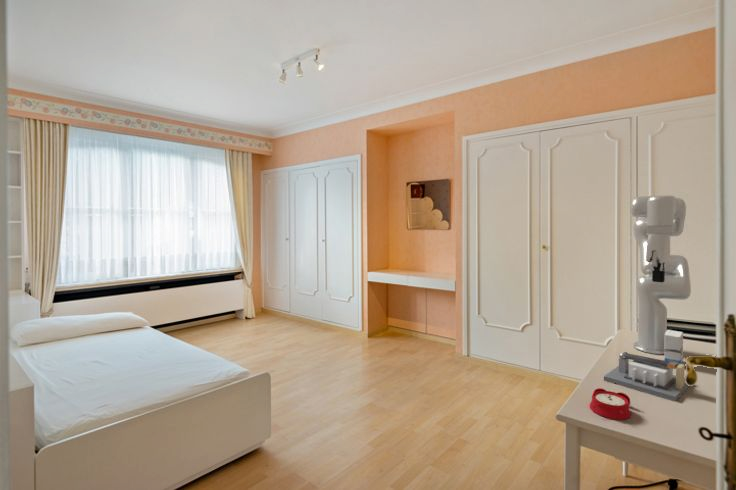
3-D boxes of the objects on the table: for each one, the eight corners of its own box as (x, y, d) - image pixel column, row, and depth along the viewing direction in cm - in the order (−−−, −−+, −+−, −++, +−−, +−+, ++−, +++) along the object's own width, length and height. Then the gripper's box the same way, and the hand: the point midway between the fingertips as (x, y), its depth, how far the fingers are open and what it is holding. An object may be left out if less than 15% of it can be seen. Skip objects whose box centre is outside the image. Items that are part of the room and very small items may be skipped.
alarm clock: (587, 403, 111) (592, 374, 122) (587, 421, 112) (593, 391, 124) (630, 414, 104) (632, 382, 116) (630, 432, 106) (631, 399, 118)
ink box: (680, 368, 140) (681, 337, 139) (663, 364, 144) (663, 334, 143) (683, 361, 146) (684, 331, 145) (666, 358, 150) (667, 329, 149)
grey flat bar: (619, 358, 135) (619, 353, 135) (623, 355, 137) (623, 351, 137) (674, 369, 122) (674, 365, 122) (678, 366, 124) (678, 362, 124)
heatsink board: (623, 366, 144) (623, 344, 143) (691, 384, 128) (692, 359, 127) (603, 380, 133) (604, 356, 132) (675, 401, 117) (676, 374, 116)
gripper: (654, 229, 142) (652, 277, 144) (639, 231, 133) (638, 283, 135) (679, 229, 136) (677, 280, 138) (666, 232, 127) (664, 286, 129)
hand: (658, 281), depth 136 cm, fingers closed
